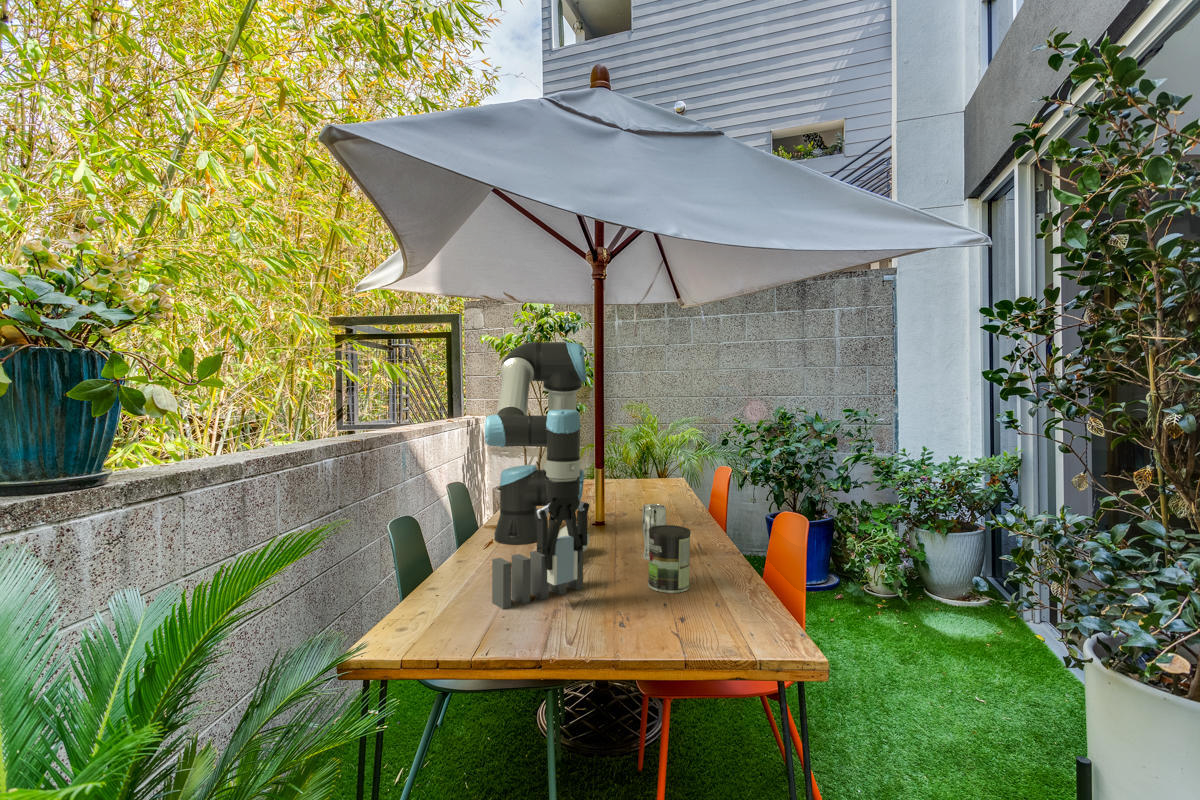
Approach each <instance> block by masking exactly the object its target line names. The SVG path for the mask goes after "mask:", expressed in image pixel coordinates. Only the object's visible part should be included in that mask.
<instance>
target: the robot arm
mask: <svg viewBox="0 0 1200 800" xmlns="http://www.w3.org/2000/svg"><path fill="white" fill-rule="evenodd" d="M499 374H500V378H501V386H500V392H499V395H498V397H499V398H498V403H497V409H496V414H491V415H488V416H486V418H485V423H484V441H485V444H486V445H487V446H489V447H499V448H513V447H514V448H518V447H519V448H520V447H521V448H522V447H523V448H524V447H525V448H528V447H529V448H530V447H532V448H535V447H536V448H537V447H538V448H539V447H540V448H546V460H545V461H546V462H545V463H543V469H538V467H537V465H535V464H525V465H523V464H522V465H516V466H512V467H507V468H505V469H504V470H502V471H501V473H500V481H499V482H500V483H499V487H500V488H499V489H500V494H499V499H500V500H499V501H500V502H499V518H498V521H497V524H496V527H495V530H494V541H496V542H498V543H500V544H507V545H526V544H527V545H528V544H532V543H536V551H537V552H539V553H541V554H543V555H545V569H547V582H548V583H550V584H552V585H557V556H556V555H554V551H555V546H556V542H557V537H558V534H559V531H560V527H561V526H562V523H563V521H564V522H565V524H566V525H565V526H567V530H568V535H569V536H572V537H574V551H573V579H574V580H576V579H577V563H579V562H580V551H582V550H583V546H586V545H587V532H588V513H589V509H590V504H589V502H585V501H582V496H583V492H584V481H585V472H584V470H583V469H581V466H580V465H581V460H580V458H581V455H580V454H581V451H580V450H581V449H580V447H581V427H582V426H581V425H582V424H581V414H580V412H579V411H578V410H577V396H578V395H577V393H578V392H579V391H580V390H582V387H583V386H582V384H583V383H585V382H587V379H588V378H587V369H586V360H585V352H584V347H583V345H582V344H580V343H579V342H568V341H559V342H556V341H555V342H554V341H553V342H552V341H550V342H549V341H548V342H547V341H546V342H545V341H544V342H541V341H531V342H526V343H522V344H521V345H519V346H517V347H515V348H513V349H512V350H511V351H510V352H509V353H508V354H507V355H506V356H505V357H504V359H503V360H502V363H501V366H500V371H499ZM532 382H543V384H542V387H543V388H544V390H546V391H547V392H548V394H547V396H548V399H547V400H548V401H547V402H548V409H547V410H548V412H547V414H546V415H533V414H530V415H528V407H529V397H530V395H529V393H530V384H531V383H532ZM537 507H542V508H537ZM548 513H549V514H548ZM548 517H549V518H548Z"/></svg>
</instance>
